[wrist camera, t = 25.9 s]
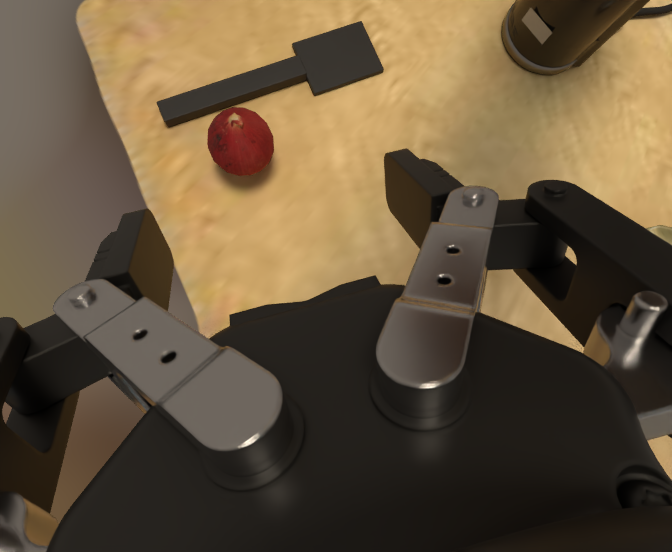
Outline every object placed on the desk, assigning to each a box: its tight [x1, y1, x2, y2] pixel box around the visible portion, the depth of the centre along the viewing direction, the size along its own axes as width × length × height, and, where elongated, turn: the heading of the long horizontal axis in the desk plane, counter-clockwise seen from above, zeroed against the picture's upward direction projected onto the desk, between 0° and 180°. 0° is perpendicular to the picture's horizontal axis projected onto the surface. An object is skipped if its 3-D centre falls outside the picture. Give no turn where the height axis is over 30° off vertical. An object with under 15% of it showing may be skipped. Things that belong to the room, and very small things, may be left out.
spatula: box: [157, 21, 384, 127], centre depth 40 cm, size 23×6×1 cm, turn 113°
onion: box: [208, 107, 274, 176], centre depth 35 cm, size 6×6×8 cm
